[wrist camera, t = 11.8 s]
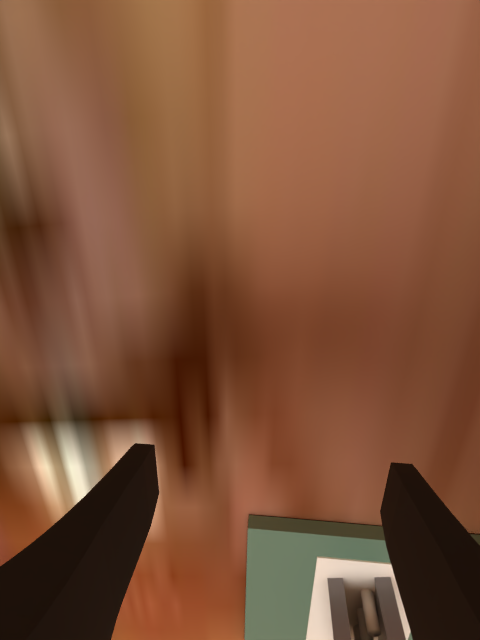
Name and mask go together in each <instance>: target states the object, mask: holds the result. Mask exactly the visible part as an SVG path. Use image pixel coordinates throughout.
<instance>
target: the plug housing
mask: <svg viewBox="0 0 480 640" xmlns="http://www.w3.org/2000/svg"><path fill="white" fill-rule="evenodd" d="M374 578H375V596H376V611H377V616H378V621H379V626H380V631H381V634H380V635H379V636H378V640H406V638H405V634H404V630H403V626H402V622H401V618H400V614H399V609H398V605H397V601H396V597H395V593H394V589H393V585H392V581H391V577H374ZM327 580H328V590H329V600H330V610H331V619H332V629H333V639H334V640H351V634H350V627H349V619H348V612H347V605H346V597H345V590H344V583H343V578H327Z"/></svg>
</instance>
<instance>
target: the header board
mask: <svg viewBox="0 0 480 640" xmlns="http://www.w3.org/2000/svg"><path fill="white" fill-rule="evenodd" d="M470 535H471V536H472V537H473V538H474V539H475V541H476V542H477V543H478V544H479V545H480V535H476V534H470ZM374 577H391V581H392V585H393V589H394V593H395V597H396V601H397V605H398V609H399V614H400V618H401V622H402V626H403V630H404V634H405V638H406V640H413V639H412V635H411V631H410V627H409V624H408V621H407V617H406V614H405V610H404V607H403V603H402V600H401V597H400V593H399V590H398V586H397V583H396V580H395V576H394V573H393V569H392V566H391V562H390V559H389V555H388V551H387V548H386V543H385V537H384V532H383V526H372V525H361V524H349V523H338V522H326V521H315V520H303V519H292V518H280V517H269V516H257V515H249V520H248V539H247V573H246V607H245V640H334V639H333V629H332V619H331V610H330V600H329V590H328V580H327V578H343V583H344V590H345V597H346V605H347V612H348V619H349V627H350V634H351V640H378V636H379V635H380V634H381V631H380V626H379V621H378V616H377V611H376V596H375V578H374Z"/></svg>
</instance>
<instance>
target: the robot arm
mask: <svg viewBox="0 0 480 640" xmlns="http://www.w3.org/2000/svg"><path fill="white" fill-rule="evenodd" d="M158 495H159V487H158V477H157V467H156V457H155V446H154V445H150V444H137V443H135V444H134V445H133V446H132V447H131V448H130V449H129V450H128V451H127V452H126V453H125V455H124V456H123V457H122V458H121V459H120V460H119V461H118V462H117V463H116V464H115V466H114V467H113V468H112V469H111V470H110V471H109V472H108V473H107V474H106V475H105V476H104V477H103V478H102V479H101V480H100V481H99V482H98V483H97V484H96V485H95V486H94V487H93V488H92V490H91V491H90V492H89V493H88V494H87V495H86V496H85V497H84V498H82V499H81V500H80V501H79V502H78V503H77V504H76V505H75V506H74V507H73V508H72V509H71V510H70V511H69V512H68V513H66V514H65V515H64V516H63V517H62V518H61V519H60V520H59V521H58V522H57V523H55V524H54V525H53V526H52V527H51V528H50V529H48V530H47V531H46V532H45V533H44V534H42V535H41V536H40V537H39V538H37V539H36V540H35V541H34V542H33V543H31V544H30V545H29V546H27V547H26V548H25V549H24V550H22V551H21V552H20V553H18V554H17V555H16V556H14V557H13V558H12V559H10V560H9V561H7V562H6V563H5V564H3V565H2V566H0V640H111V637H112V634H113V630H114V626H115V623H116V619H117V616H118V613H119V610H120V607H121V604H122V601H123V599H124V596H125V593H126V591H127V588H128V585H129V583H130V580H131V577H132V575H133V572H134V570H135V567H136V564H137V562H138V559H139V556H140V554H141V551H142V548H143V546H144V543H145V540H146V537H147V535H148V532H149V529H150V527H151V523H152V519H153V515H154V512H155V508H156V503H157V499H158ZM380 513H381V519H382V526H383V532H384V537H385V543H386V548H387V551H388V555H389V559H390V562H391V566H392V569H393V573H394V576H395V580H396V583H397V586H398V590H399V593H400V597H401V600H402V603H403V607H404V610H405V614H406V617H407V621H408V624H409V627H410V631H411V635H412V639H413V640H480V545H479V544H478V543H477V542H476V541H475V539H474V538H473V537H472V536H471V535H470V534H469V533H468V532H467V530H466V529H465V528H464V527H463V526H462V525H461V523H460V522H459V521H458V520H457V519H456V518H455V516H454V515H453V514H452V513H451V512H450V510H449V509H448V508H447V507H446V506H445V504H444V503H443V502H442V501H441V499H440V498H439V497H438V496H437V495H436V493H435V492H434V491H433V489H432V488H431V487H430V486H429V484H428V483H427V482H426V481H425V479H424V478H423V477H422V476H421V474H420V473H419V472H418V470H417V469H416V468H415V467H414V466H413V464H404V463H391V465H390V470H389V474H388V479H387V483H386V488H385V492H384V497H383V501H382V506H381V510H380Z"/></svg>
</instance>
